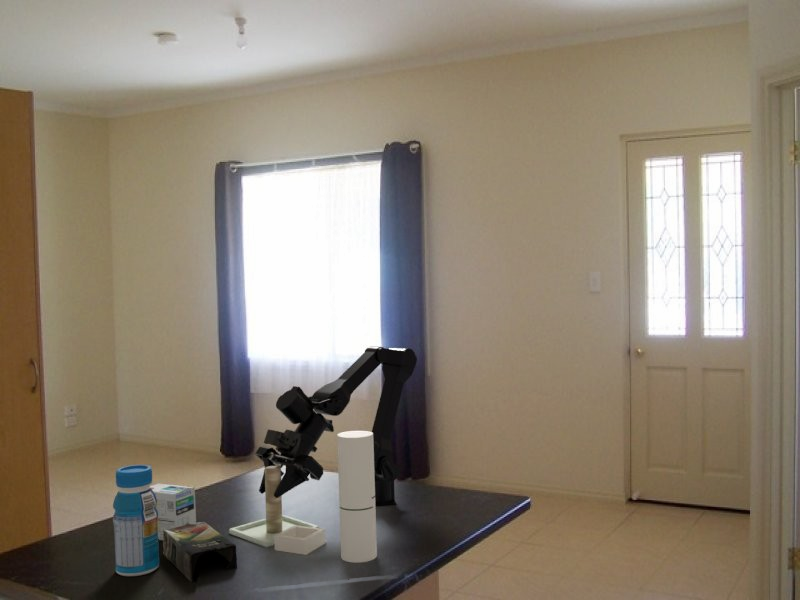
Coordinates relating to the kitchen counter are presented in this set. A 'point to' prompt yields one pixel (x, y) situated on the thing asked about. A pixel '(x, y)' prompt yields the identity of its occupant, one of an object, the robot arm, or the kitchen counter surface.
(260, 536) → the tray
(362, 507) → the cylindrical container
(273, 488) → the dowel
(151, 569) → the beverage bottle
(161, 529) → the light bulb box
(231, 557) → the juice carton
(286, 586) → the kitchen counter surface
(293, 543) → the holder
